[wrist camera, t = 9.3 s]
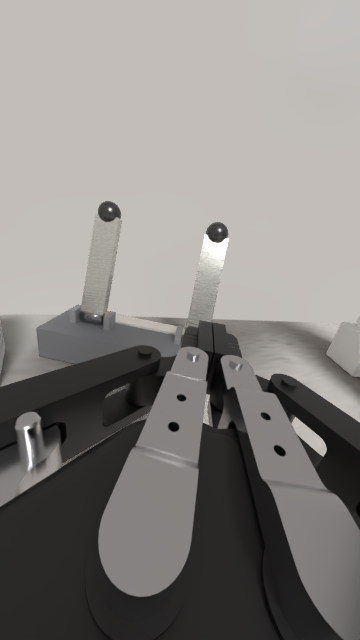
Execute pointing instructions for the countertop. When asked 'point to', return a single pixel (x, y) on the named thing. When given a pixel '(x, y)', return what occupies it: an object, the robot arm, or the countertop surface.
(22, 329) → the countertop surface
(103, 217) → the lever
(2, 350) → the small box
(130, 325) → the switch console
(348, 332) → the medicine bottle
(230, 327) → the countertop surface
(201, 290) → the lever
